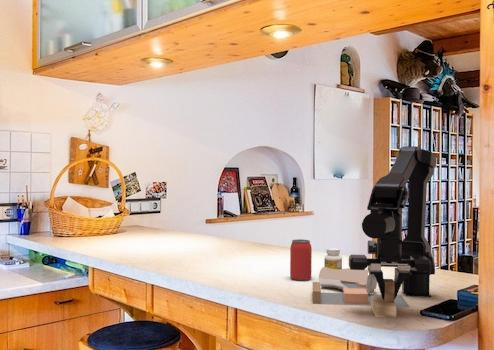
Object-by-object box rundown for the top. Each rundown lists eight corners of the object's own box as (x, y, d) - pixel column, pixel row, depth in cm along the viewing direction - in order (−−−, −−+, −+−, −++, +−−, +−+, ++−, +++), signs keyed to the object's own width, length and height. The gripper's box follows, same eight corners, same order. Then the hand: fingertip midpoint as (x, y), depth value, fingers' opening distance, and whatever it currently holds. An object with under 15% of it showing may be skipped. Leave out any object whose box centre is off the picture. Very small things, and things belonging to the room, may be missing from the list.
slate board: (401, 296, 144) (401, 284, 144) (409, 308, 132) (409, 294, 132) (312, 293, 147) (312, 281, 147) (312, 304, 135) (313, 291, 135)
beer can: (290, 276, 169) (290, 239, 169) (311, 276, 168) (311, 239, 168) (290, 280, 162) (290, 241, 162) (311, 281, 162) (311, 242, 162)
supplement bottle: (345, 280, 164) (345, 249, 164) (334, 282, 160) (334, 251, 160) (331, 277, 168) (331, 247, 168) (320, 279, 164) (320, 248, 164)
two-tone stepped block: (390, 308, 132) (390, 276, 131) (396, 319, 123) (396, 284, 122) (371, 307, 132) (371, 276, 132) (376, 318, 123) (376, 284, 123)
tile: (365, 298, 141) (365, 288, 141) (368, 303, 135) (368, 294, 135) (342, 297, 141) (342, 288, 141) (344, 303, 135) (344, 293, 135)
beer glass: (331, 279, 157) (379, 285, 148) (321, 294, 152) (370, 300, 143) (325, 260, 155) (373, 264, 146) (315, 274, 150) (364, 280, 141)
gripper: (422, 230, 134) (421, 292, 134) (347, 229, 136) (346, 289, 136) (432, 236, 123) (431, 303, 123) (350, 234, 125) (350, 300, 125)
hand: (388, 298), depth 127 cm, fingers closed on two-tone stepped block, 2 cm apart
